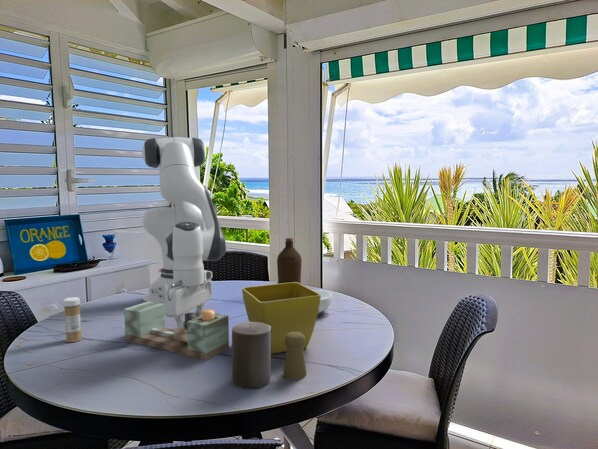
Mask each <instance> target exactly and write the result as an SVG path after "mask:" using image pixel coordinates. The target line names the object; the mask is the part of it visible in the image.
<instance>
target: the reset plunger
mask: <svg viewBox="0 0 598 449" xmlns="http://www.w3.org/2000/svg"><path fill="white" fill-rule="evenodd" d="M214 313H215V310H214V309H209V308H207V309H203V311H202V321H207V322H210V321H212V320H214Z"/></svg>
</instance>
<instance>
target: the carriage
mask: <svg viewBox="0 0 598 449" xmlns="http://www.w3.org/2000/svg"><path fill="white" fill-rule="evenodd" d="M192 319H195V312H185V313H184V321H185V327H184V328H182V329H179V328H177V327H175V328H174V329H173V330H174V336H175V339H178V340H179V341H182V342H187V343H188V339H187V321H190V320H192Z"/></svg>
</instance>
